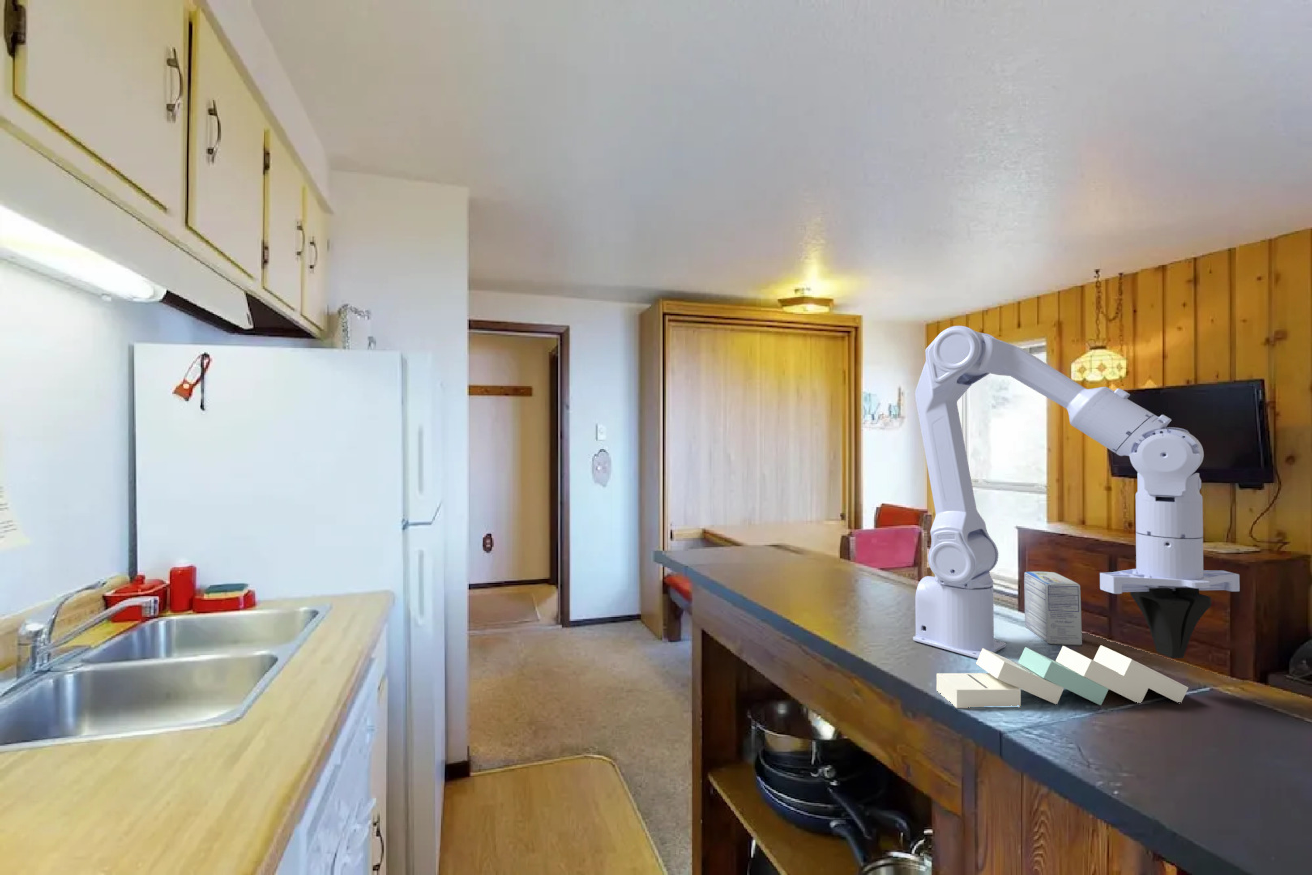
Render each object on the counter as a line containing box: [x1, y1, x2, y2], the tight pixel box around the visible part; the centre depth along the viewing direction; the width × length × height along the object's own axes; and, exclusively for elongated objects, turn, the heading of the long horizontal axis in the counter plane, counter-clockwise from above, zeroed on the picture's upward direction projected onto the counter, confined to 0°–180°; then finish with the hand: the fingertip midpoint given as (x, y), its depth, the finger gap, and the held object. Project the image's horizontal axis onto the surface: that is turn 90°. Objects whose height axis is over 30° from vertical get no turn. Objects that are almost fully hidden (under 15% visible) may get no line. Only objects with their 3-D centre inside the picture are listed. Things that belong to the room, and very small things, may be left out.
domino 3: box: [1017, 646, 1110, 706], centre depth 66 cm, size 2×4×7 cm
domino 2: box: [975, 648, 1065, 705], centre depth 66 cm, size 2×4×7 cm
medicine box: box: [1023, 571, 1083, 646], centre depth 86 cm, size 8×4×9 cm, turn 168°
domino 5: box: [1093, 645, 1189, 703], centre depth 66 cm, size 2×4×7 cm
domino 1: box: [936, 672, 1022, 709], centre depth 66 cm, size 2×4×7 cm
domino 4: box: [1055, 645, 1149, 704], centre depth 66 cm, size 2×4×7 cm
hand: (1169, 654), depth 66 cm, fingers closed
